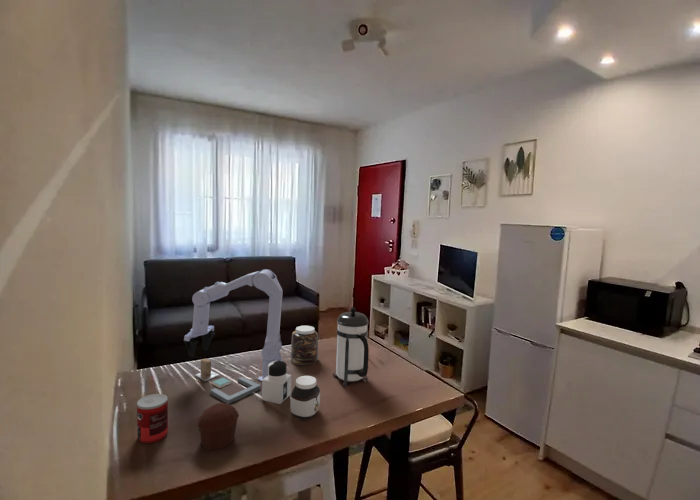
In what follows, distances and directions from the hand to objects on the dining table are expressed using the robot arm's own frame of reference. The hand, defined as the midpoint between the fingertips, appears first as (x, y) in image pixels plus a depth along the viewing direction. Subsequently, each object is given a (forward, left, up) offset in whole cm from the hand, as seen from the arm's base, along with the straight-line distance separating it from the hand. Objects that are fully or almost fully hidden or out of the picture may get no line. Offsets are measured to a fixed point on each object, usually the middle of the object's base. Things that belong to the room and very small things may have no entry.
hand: (198, 352), depth 140 cm
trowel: (-2, -3, -10) cm, 11 cm away
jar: (-20, -40, -10) cm, 46 cm away
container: (-35, -10, -10) cm, 38 cm away
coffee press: (-48, -39, -10) cm, 63 cm away
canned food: (-24, +28, -10) cm, 39 cm away
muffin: (-40, +17, -10) cm, 45 cm away
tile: (-12, -3, -10) cm, 16 cm away
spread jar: (-48, -10, -10) cm, 50 cm away
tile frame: (-20, -3, -10) cm, 22 cm away
